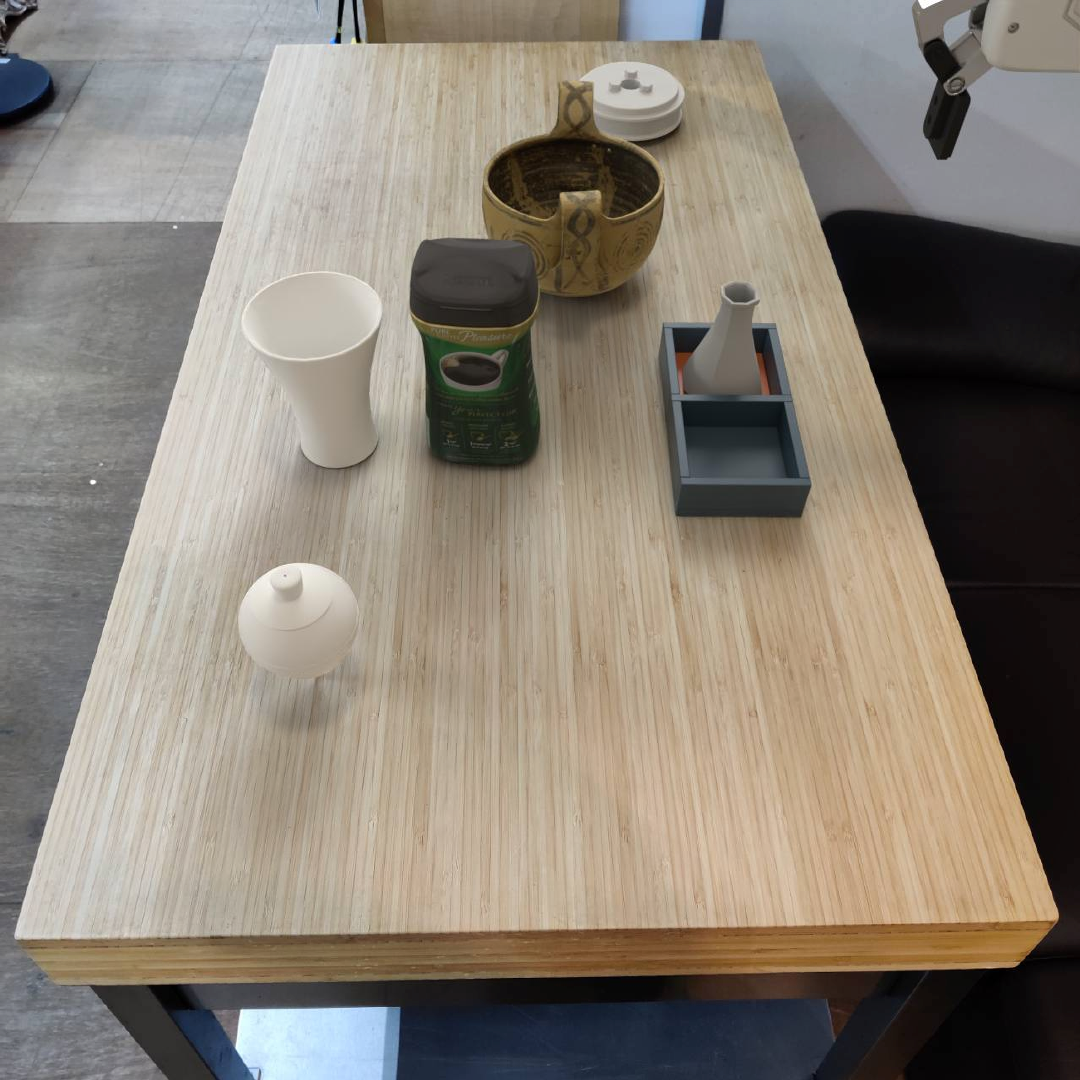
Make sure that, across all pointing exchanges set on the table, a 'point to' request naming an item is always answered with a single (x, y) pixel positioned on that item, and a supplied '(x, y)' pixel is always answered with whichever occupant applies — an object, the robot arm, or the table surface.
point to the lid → (635, 100)
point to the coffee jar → (477, 348)
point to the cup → (321, 358)
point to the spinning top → (298, 620)
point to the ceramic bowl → (576, 200)
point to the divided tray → (732, 435)
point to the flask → (727, 348)
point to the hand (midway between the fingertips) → (1015, 148)
